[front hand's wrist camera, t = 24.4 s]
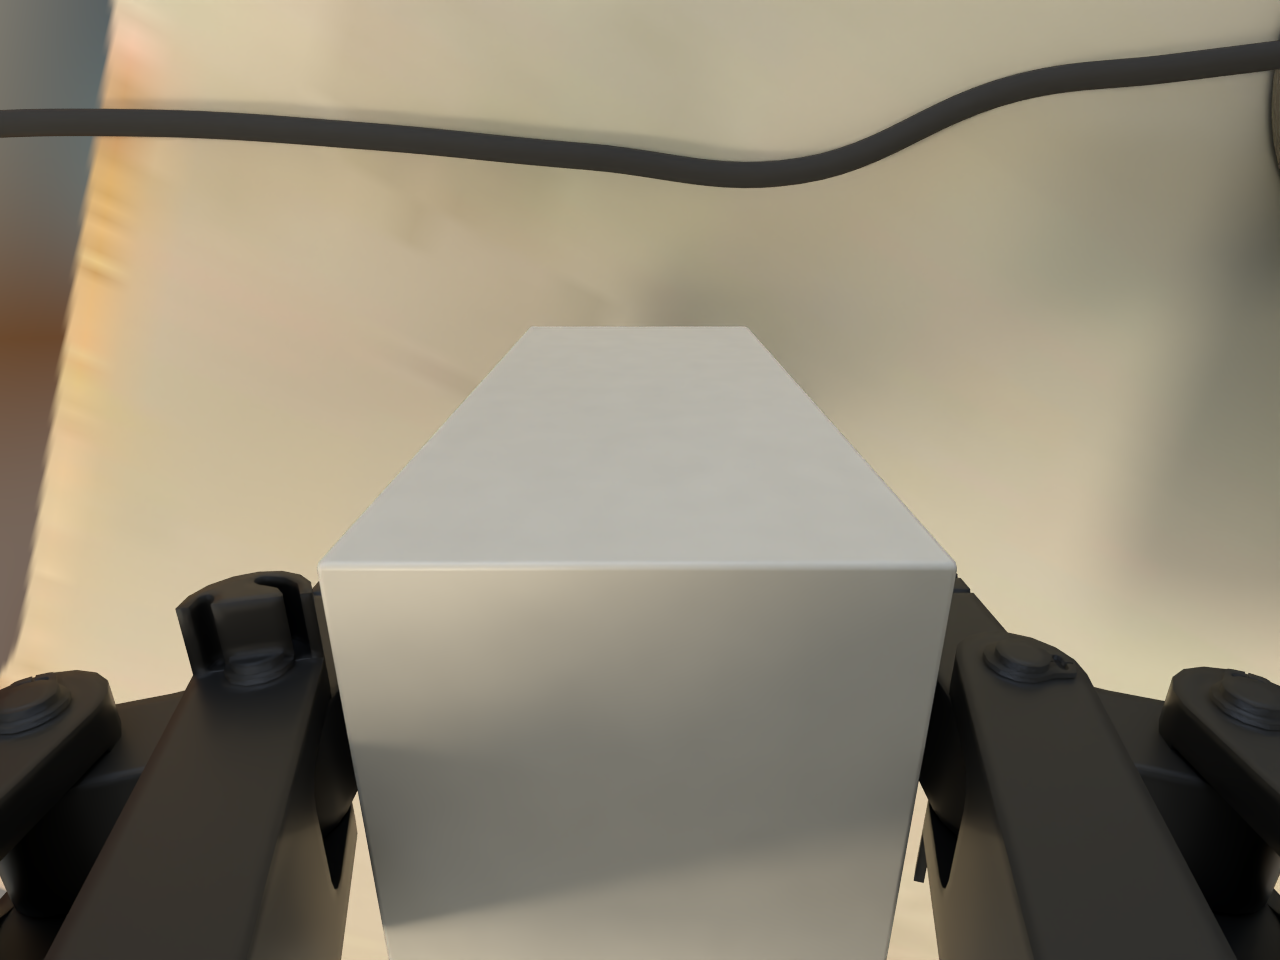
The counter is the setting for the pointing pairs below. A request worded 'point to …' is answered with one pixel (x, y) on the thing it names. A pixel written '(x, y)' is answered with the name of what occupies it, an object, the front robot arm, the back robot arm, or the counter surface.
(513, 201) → the counter surface
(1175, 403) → the counter surface
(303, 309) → the counter surface
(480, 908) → the block
